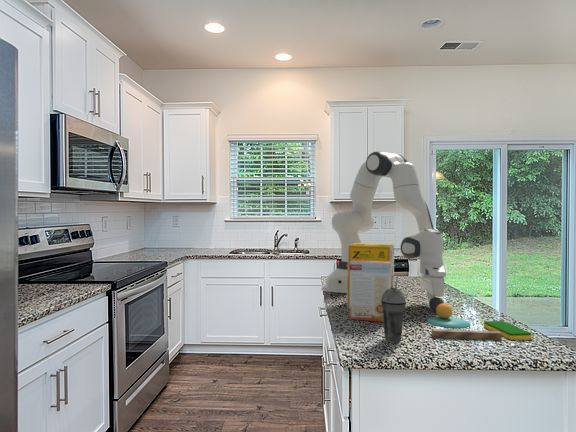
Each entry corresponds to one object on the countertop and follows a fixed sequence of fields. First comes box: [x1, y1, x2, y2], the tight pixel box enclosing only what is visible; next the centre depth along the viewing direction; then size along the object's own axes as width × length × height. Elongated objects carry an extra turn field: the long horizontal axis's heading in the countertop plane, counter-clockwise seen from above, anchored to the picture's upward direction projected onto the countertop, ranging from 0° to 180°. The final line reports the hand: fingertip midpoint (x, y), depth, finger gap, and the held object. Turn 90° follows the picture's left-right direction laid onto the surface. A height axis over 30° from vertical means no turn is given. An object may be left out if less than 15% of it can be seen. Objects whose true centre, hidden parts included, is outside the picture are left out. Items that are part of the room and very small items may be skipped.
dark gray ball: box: [428, 297, 445, 312], centre depth 154 cm, size 6×6×6 cm
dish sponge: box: [483, 320, 532, 341], centre depth 128 cm, size 7×14×2 cm, turn 6°
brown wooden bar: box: [431, 328, 503, 341], centre depth 122 cm, size 20×2×2 cm, turn 85°
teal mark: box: [426, 316, 471, 329], centre depth 139 cm, size 14×14×1 cm
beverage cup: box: [381, 273, 407, 344], centre depth 119 cm, size 7×7×20 cm
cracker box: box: [349, 260, 391, 323], centre depth 142 cm, size 14×6×21 cm, turn 71°
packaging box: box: [346, 242, 395, 309], centre depth 163 cm, size 16×16×25 cm
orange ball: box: [435, 302, 453, 319], centre depth 144 cm, size 6×6×6 cm
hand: (431, 303), depth 161 cm, fingers closed
